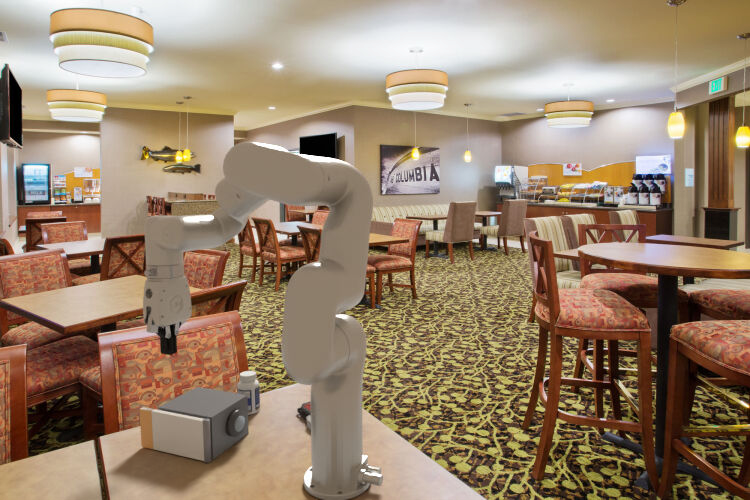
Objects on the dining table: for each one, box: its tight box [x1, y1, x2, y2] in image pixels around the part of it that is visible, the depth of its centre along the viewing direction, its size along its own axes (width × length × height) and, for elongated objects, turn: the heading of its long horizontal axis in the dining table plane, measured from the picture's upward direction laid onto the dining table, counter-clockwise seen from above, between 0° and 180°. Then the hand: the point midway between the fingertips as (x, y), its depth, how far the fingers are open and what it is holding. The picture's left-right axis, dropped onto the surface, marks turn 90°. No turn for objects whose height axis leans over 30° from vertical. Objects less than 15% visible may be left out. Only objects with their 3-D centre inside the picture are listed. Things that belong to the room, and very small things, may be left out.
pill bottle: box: [236, 370, 261, 416], centre depth 122 cm, size 5×5×10 cm
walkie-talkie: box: [297, 400, 311, 431], centre depth 114 cm, size 9×4×20 cm
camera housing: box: [157, 386, 249, 461], centre depth 107 cm, size 16×12×9 cm
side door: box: [139, 406, 213, 464], centre depth 101 cm, size 18×1×9 cm, turn 69°
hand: (168, 353), depth 109 cm, fingers closed
